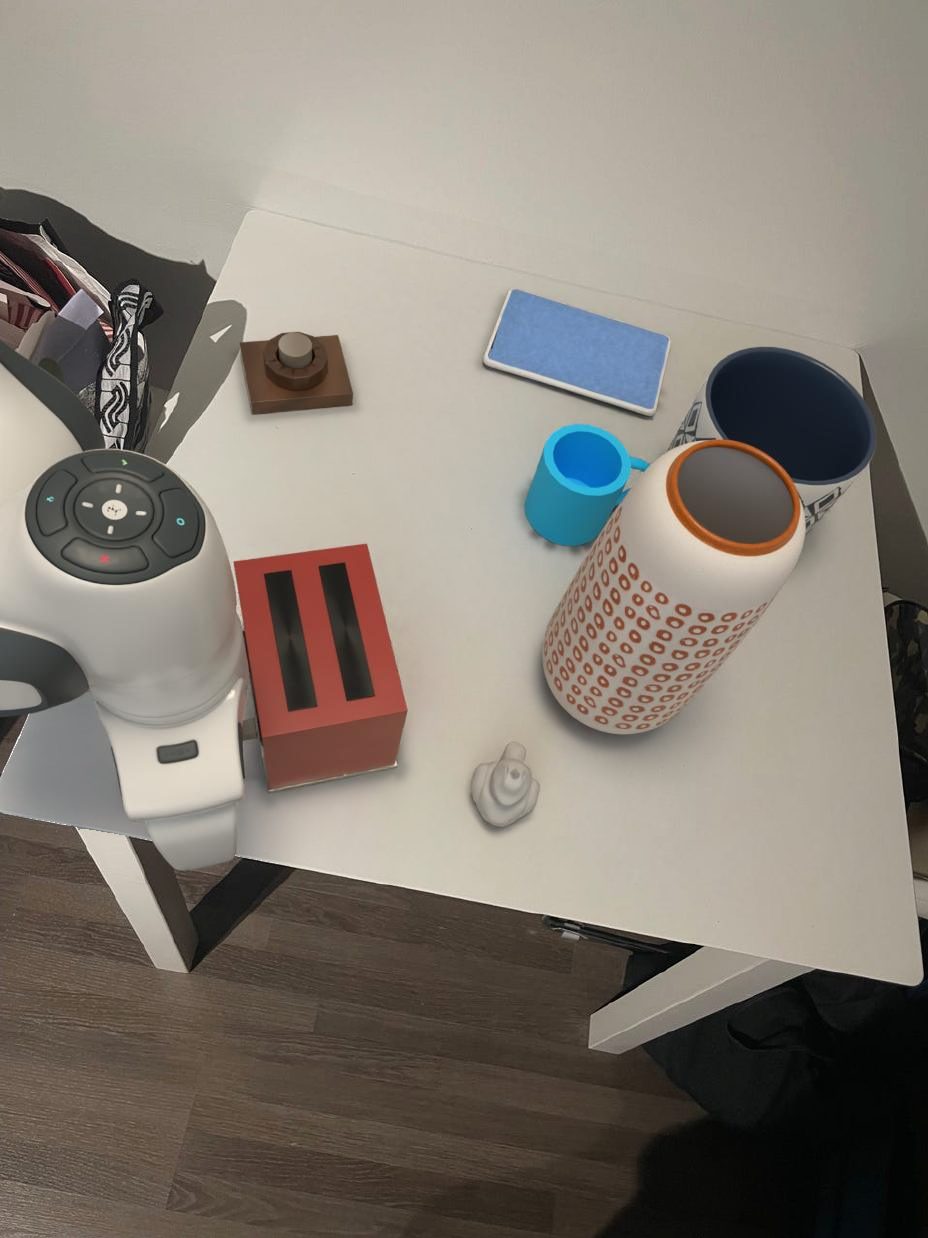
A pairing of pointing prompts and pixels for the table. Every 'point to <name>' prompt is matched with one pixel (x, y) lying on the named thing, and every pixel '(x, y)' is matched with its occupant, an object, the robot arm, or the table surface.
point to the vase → (673, 585)
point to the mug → (578, 484)
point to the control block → (295, 376)
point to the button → (295, 350)
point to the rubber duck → (505, 787)
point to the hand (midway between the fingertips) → (198, 745)
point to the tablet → (579, 351)
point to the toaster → (320, 666)
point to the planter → (787, 420)
